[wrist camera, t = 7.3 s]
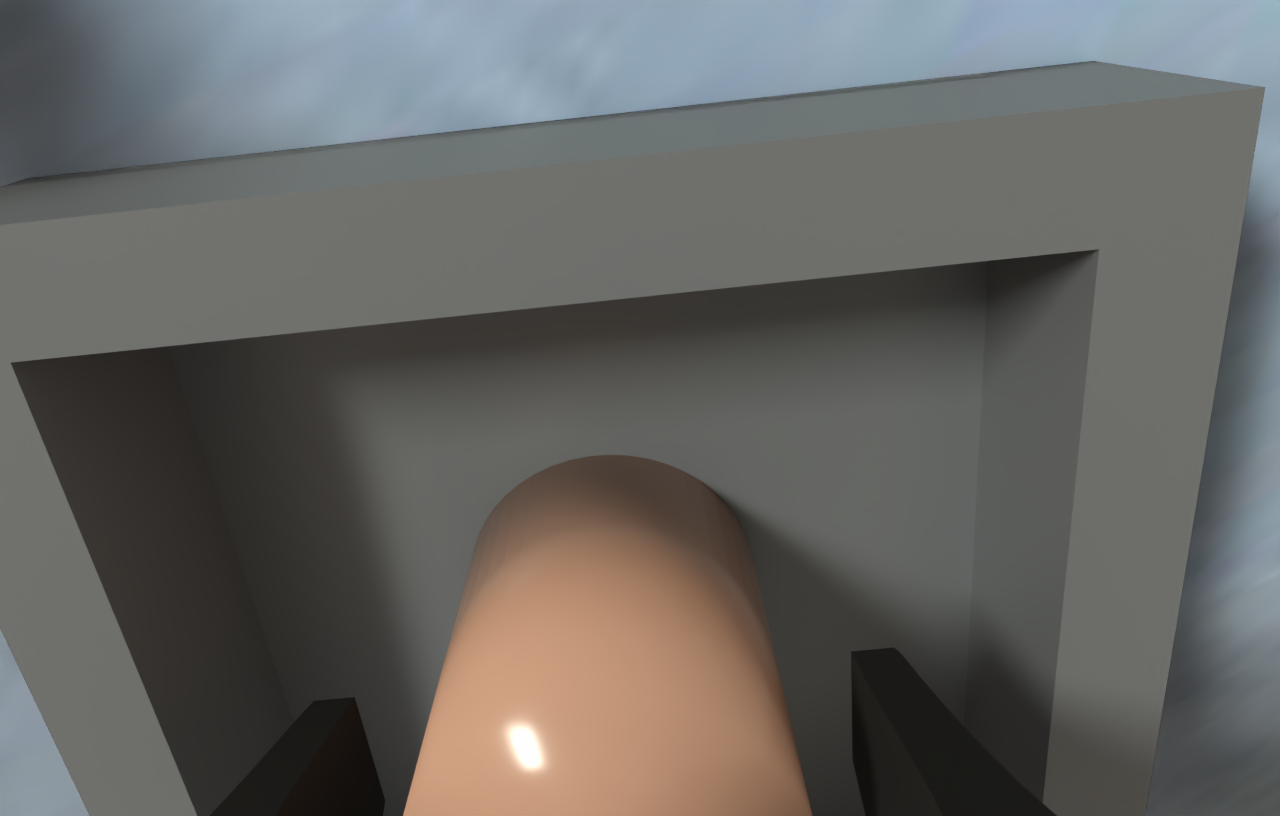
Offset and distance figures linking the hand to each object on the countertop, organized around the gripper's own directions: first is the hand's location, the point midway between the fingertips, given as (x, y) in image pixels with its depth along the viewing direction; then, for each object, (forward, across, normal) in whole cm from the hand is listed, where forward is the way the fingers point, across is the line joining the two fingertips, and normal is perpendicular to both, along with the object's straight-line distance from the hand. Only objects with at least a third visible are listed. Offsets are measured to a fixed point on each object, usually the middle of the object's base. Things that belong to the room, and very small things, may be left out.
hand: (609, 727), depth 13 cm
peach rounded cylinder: (+3, 0, 0) cm, 3 cm away
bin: (+4, 0, 0) cm, 4 cm away
